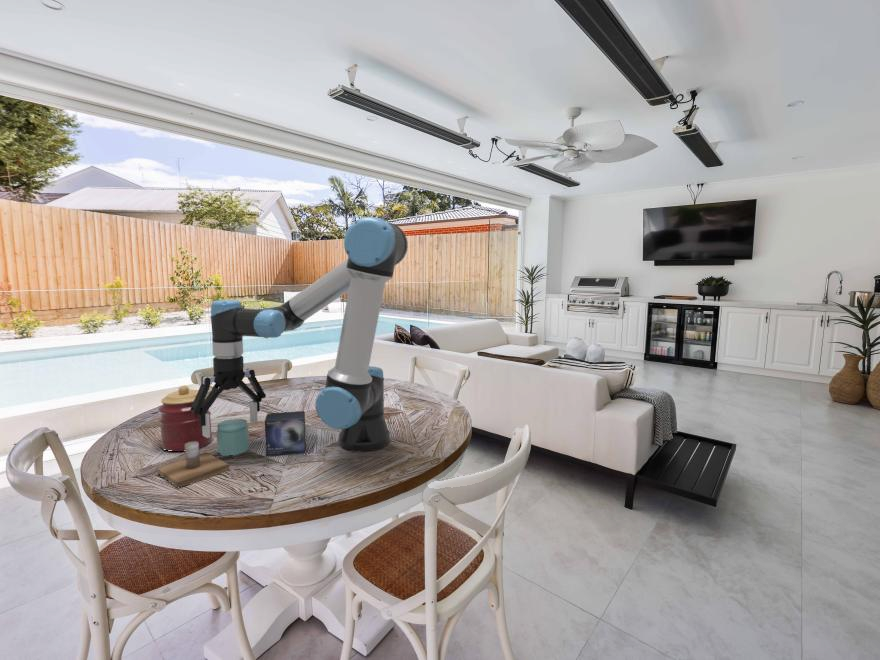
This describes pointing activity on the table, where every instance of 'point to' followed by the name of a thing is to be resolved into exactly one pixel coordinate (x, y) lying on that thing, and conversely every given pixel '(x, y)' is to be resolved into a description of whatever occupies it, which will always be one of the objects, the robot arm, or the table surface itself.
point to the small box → (285, 433)
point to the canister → (180, 421)
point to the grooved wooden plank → (192, 467)
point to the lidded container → (232, 437)
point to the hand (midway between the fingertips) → (231, 429)
